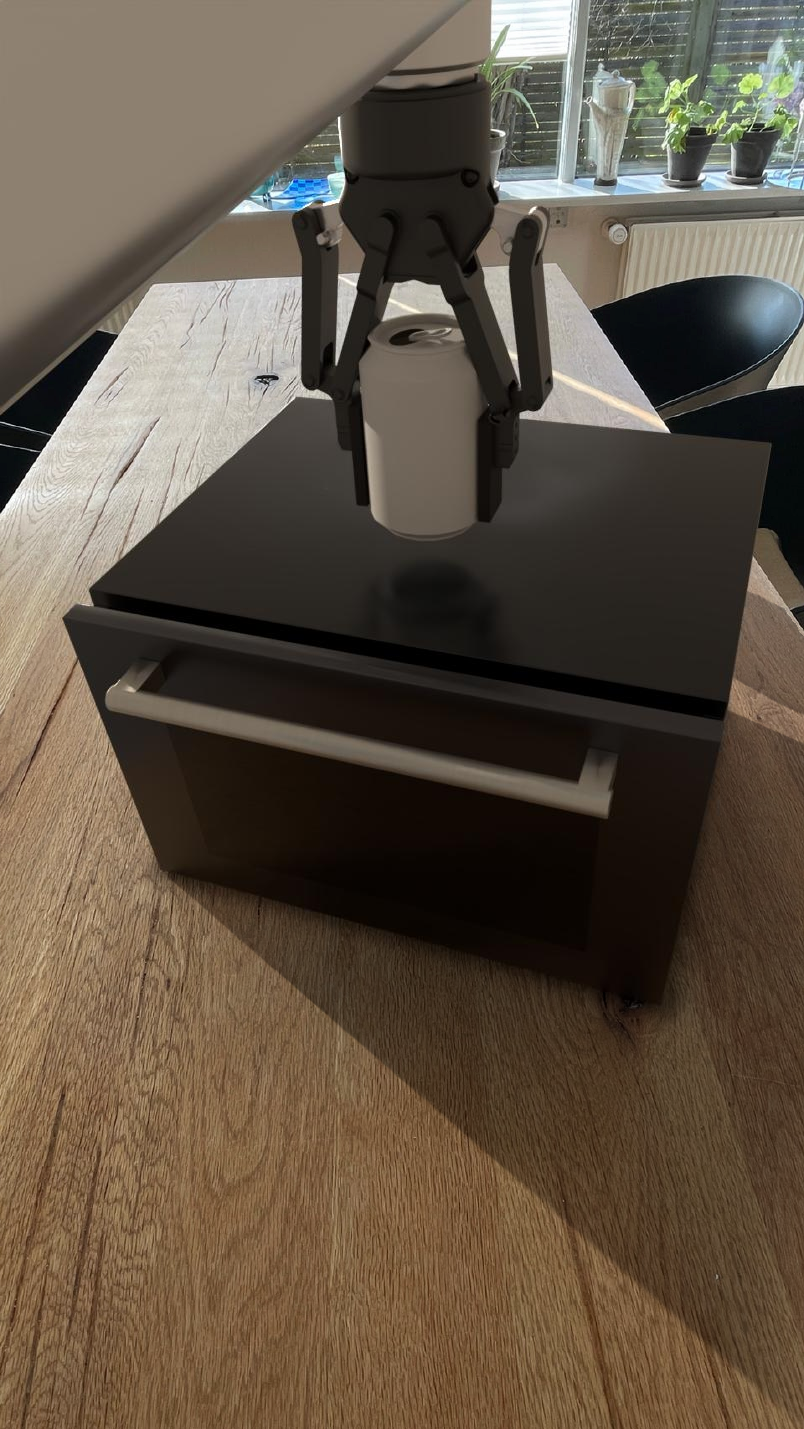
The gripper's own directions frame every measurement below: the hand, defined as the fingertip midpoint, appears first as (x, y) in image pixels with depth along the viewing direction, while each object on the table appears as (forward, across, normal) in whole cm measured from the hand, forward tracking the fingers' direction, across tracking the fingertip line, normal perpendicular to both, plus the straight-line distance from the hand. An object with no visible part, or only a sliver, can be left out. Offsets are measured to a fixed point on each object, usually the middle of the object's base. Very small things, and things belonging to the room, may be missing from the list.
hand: (428, 503), depth 60 cm
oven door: (+30, 0, +13) cm, 32 cm away
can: (+1, 0, 0) cm, 1 cm away
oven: (+30, 0, -6) cm, 30 cm away
